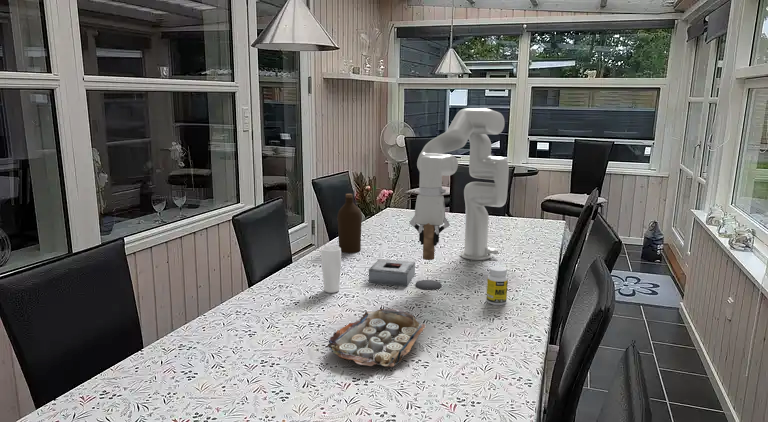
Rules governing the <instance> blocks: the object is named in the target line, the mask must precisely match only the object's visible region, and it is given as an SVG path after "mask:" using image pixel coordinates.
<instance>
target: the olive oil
mask: <svg viewBox="0 0 768 422" xmlns="http://www.w3.org/2000/svg"><path fill="white" fill-rule="evenodd" d="M344 199H345V203H344V204H343V205H341V207H340V209H339V210H338V212H337V216H336V221H337V231H338V233H337V235H338V247H340V248H341V253H344V254H354V253H359V252H360V251H361V249H362V248H361V246H362V245H361V244H362V242H361V241H362V223H363V222H362V221H363V217H362V211H361V210H360V208H359V207H358V206H357V205H356V203H354V194H353V193H345V198H344Z"/></svg>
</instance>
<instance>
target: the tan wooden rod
mask: <svg viewBox="0 0 768 422" xmlns="http://www.w3.org/2000/svg"><path fill="white" fill-rule="evenodd" d="M434 234H435V226H434V225H430V224H429V223H428V224H426V225H424V228H423V244H422V259H423V260H426V261H433V260H434V259H435V252H436V251H435V248H436V246H434Z"/></svg>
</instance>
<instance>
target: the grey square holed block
mask: <svg viewBox="0 0 768 422" xmlns="http://www.w3.org/2000/svg"><path fill="white" fill-rule="evenodd" d="M415 275H416V261H410V260H409V261H408V260H397V259H396V260H395V259H387V258H386V259H384V258H379V259H377V260H376V262H374V263H373V264H372V266H371V267H370V268H369V269H368V284H372V285H373V284H375V285H385V286H397V287H408V286H409V284H410V283H411V281H412V280H413V278H414V277H415Z"/></svg>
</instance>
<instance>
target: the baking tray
mask: <svg viewBox="0 0 768 422" xmlns="http://www.w3.org/2000/svg"><path fill="white" fill-rule="evenodd" d="M415 318H416V317H414V315H413V314H412V313H410V312H407V311H404V310H402V309H398V308H380V309H378V310H375V311H365V312H364V313H363V314H362V317H360V318H359V320H356V321H355V322H350V323H348V324H347V325H345V326H343V327H342V328H341V327H340V329H338V330H337V331H335V332H334V333H333V335H332V336H330V338H329V340H328V344H327V348H328V349H329V351H331V352H332V353H333V354H335V355H336V356H337V357H339V358H342V359H345V360H350V361H354V363H356V364H357V365H361V366H362V365H363V366H369V367H372V366H378V365H379V366H383V367H384V368H389V367H391V368H393V367H394V366H396V365H398V364H399V363H400V362H401V361H402V359H403V357H404V356H406V355H408V353H409V352H410V351H411V349H412V347H413V346H414V344H415V342H417V339H418V337H419V335H421V333H422V332H423V331H424V329H425V328H426V324H425V323H422V324H420V323H419V322H418V321H417V320H416V319H415ZM393 338H394V340H393ZM385 345H386V347H385V351H383V350H384V346H385ZM366 346H367V347H366ZM374 353H375V355H374Z"/></svg>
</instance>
